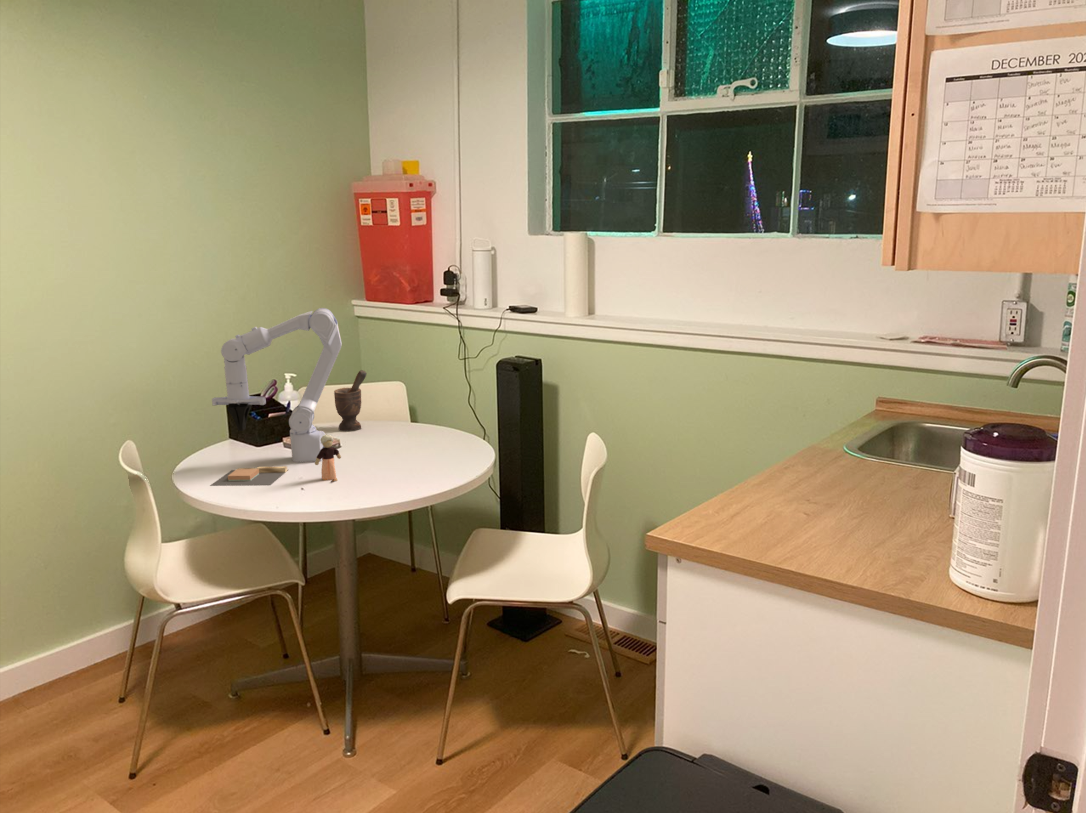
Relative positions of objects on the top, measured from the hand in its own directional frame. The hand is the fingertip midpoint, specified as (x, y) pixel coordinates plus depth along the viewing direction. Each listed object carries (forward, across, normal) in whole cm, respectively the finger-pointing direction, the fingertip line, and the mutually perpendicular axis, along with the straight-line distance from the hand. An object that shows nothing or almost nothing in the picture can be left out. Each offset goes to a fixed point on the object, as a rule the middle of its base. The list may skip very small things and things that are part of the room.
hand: (241, 429), depth 243 cm
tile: (+9, +8, -14) cm, 19 cm away
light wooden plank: (+10, +7, -9) cm, 15 cm away
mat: (+10, +7, -14) cm, 19 cm away
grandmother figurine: (+11, +29, -15) cm, 34 cm away
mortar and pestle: (+11, +20, +42) cm, 48 cm away
